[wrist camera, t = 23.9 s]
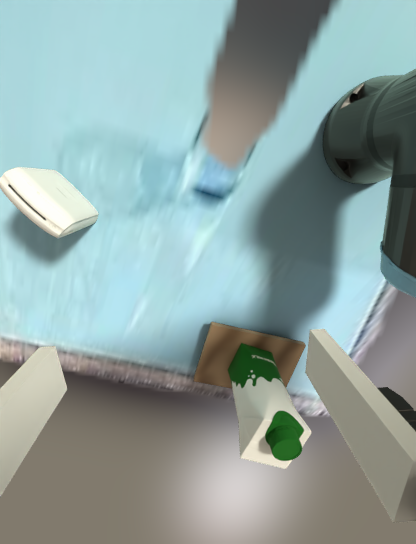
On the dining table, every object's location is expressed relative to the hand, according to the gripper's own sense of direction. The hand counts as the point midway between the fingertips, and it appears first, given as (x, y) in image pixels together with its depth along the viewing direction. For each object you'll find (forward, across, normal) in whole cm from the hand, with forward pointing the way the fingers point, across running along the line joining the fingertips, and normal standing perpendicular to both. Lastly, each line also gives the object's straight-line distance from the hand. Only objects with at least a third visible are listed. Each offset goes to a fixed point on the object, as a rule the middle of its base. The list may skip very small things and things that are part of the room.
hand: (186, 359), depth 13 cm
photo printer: (+35, -20, +7) cm, 41 cm away
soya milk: (+32, +10, -26) cm, 43 cm away
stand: (+35, +10, -27) cm, 45 cm away
